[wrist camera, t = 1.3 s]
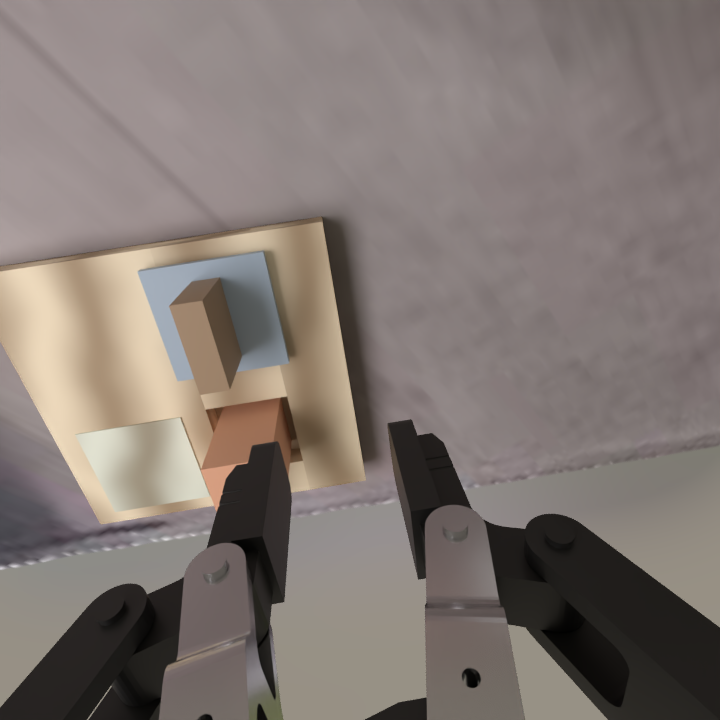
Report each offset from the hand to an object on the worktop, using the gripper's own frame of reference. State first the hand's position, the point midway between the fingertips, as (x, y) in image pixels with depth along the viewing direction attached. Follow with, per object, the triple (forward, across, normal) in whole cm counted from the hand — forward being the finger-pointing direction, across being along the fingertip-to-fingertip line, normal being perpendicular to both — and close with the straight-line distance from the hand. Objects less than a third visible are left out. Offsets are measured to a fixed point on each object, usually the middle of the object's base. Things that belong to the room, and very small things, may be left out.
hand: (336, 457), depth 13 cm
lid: (+15, +6, 0) cm, 16 cm away
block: (+17, +6, +9) cm, 20 cm away
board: (+17, +10, +5) cm, 20 cm away
